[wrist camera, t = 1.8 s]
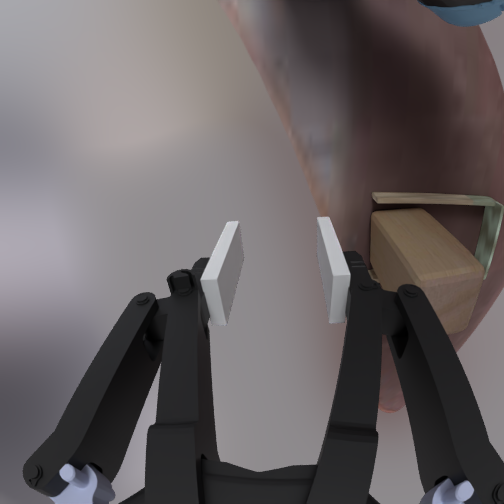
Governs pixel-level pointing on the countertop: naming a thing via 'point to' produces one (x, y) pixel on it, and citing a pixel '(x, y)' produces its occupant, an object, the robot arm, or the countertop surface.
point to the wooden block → (426, 263)
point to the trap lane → (491, 212)
